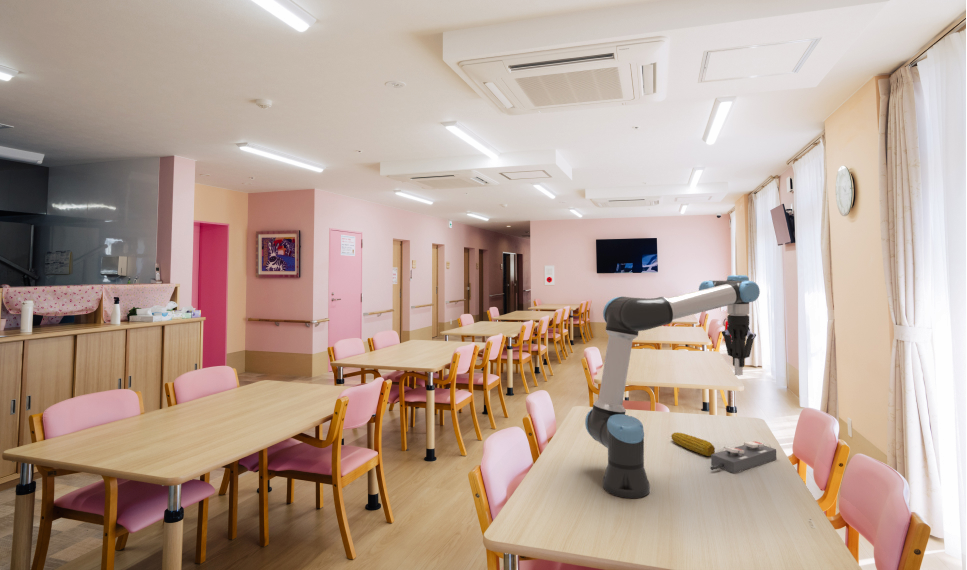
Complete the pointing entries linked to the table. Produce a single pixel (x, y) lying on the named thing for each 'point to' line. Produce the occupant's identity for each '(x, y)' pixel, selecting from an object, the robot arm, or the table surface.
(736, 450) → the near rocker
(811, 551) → the table surface
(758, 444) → the far rocker
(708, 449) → the food
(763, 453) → the power strip
